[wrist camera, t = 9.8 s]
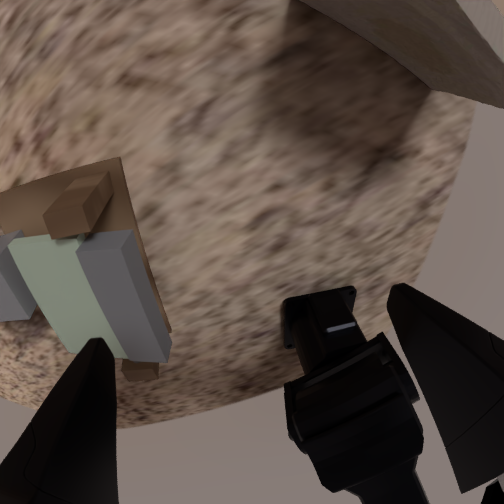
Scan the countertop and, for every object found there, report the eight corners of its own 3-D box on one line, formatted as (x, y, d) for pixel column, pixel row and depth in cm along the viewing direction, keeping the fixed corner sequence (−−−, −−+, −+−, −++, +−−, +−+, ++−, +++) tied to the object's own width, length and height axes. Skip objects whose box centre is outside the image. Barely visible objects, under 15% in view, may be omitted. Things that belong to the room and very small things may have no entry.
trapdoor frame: (171, 329, 25) (170, 382, 20) (65, 339, 24) (51, 386, 19) (120, 156, 16) (93, 190, 12) (-7, 195, 15) (-48, 233, 11)
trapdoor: (173, 346, 20) (169, 367, 19) (74, 340, 21) (67, 357, 19) (130, 220, 15) (117, 239, 13) (18, 234, 15) (2, 250, 13)
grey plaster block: (445, 55, 15) (548, 77, 7) (431, 90, 17) (535, 125, 9) (309, -40, 11) (396, -98, 3) (288, -1, 13) (372, -51, 5)
